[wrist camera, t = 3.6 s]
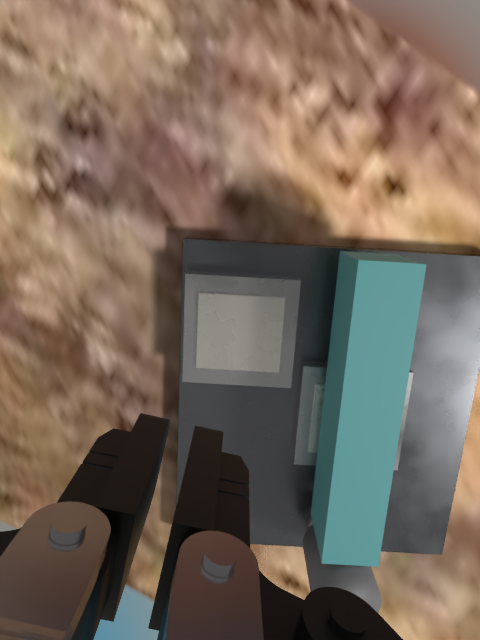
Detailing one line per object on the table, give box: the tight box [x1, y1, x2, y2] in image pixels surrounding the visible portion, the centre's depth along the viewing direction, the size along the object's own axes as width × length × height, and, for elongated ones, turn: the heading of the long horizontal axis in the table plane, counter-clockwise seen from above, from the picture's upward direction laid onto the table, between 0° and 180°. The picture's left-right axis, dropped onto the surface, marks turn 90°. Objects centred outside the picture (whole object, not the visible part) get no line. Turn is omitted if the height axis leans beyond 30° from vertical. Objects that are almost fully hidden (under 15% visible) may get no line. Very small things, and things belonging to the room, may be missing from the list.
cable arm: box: [303, 251, 427, 613], centre depth 24 cm, size 20×4×4 cm, turn 177°
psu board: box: [176, 238, 480, 555], centre depth 28 cm, size 20×18×3 cm
